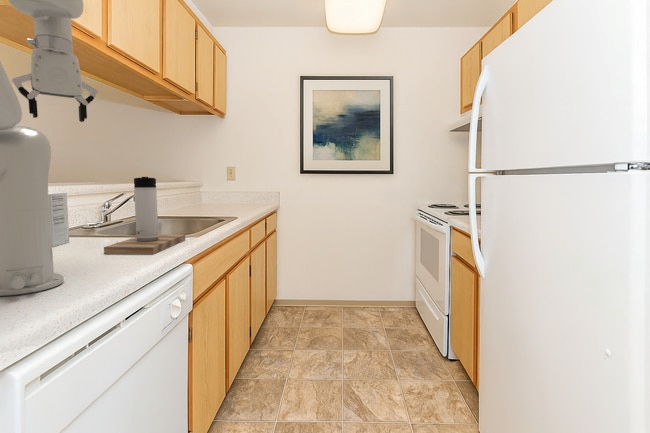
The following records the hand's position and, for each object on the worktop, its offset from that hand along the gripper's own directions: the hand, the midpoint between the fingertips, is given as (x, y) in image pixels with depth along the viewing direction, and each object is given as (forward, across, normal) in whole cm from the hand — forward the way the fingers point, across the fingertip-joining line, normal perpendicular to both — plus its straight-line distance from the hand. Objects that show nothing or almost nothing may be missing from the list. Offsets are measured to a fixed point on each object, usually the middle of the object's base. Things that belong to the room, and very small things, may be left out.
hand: (59, 119), depth 94 cm
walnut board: (+36, +22, +8) cm, 43 cm away
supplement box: (+36, -2, +32) cm, 49 cm away
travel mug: (+34, +22, +8) cm, 42 cm away
